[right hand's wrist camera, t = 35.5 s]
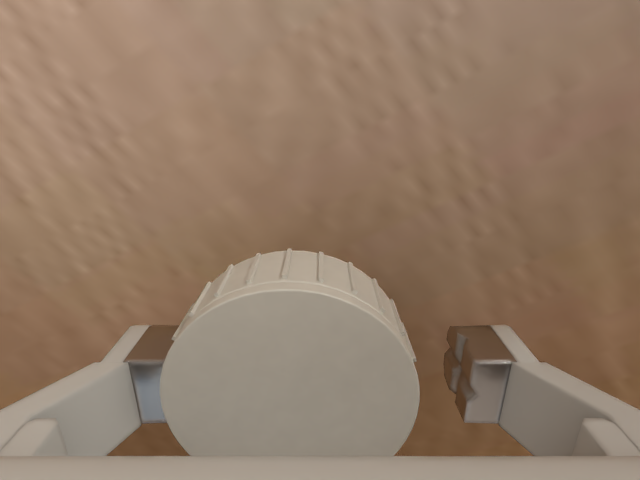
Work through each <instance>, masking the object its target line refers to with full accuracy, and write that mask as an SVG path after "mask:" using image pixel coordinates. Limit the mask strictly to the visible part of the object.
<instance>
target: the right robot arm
mask: <svg viewBox="0 0 640 480" xmlns="http://www.w3.org/2000/svg"><path fill="white" fill-rule="evenodd" d="M178 327H179V326H174V325H133V326H130V327H129V328H128V330H127V331H126V332H125V333H124V334H123V336H122V337H121V338H120V339H119V340H118V342H117V343H116V344H115V345H114V346H113V348H112V349H111V350H110V351H109V352H108V354H107V355H106V356H105V357H104V358H103V360H102V361H101V362H94V363H92V364H90V365H88V366H86V367H84V368H82V369H80V370H78V371H76V372H74V373H72V374H70V375H68V376H66V377H64V378H62V379H60V380H58V381H56V382H54V383H52V384H50V385H48V386H46V387H44V388H42V389H40V390H39V391H37V392H35V393H33V394H31V395H29V396H27V397H25V398H23V399H21V400H19V401H17V402H15V403H13V404H11V405H9V406H7V407H5V408H3V409H1V410H0V480H640V410H639V409H637V408H635V407H633V406H631V405H629V404H627V403H625V402H623V401H621V400H619V399H617V398H615V397H613V396H611V395H609V394H607V393H605V392H603V391H601V390H599V389H597V388H595V387H593V386H592V385H590V384H588V383H586V382H584V381H582V380H580V379H578V378H576V377H574V376H572V375H570V374H568V373H566V372H564V371H562V370H560V369H558V368H556V367H554V366H552V365H550V364H548V363H546V362H539V361H538V360H537V358H536V357H535V356H534V355H533V354H532V352H531V351H530V350H529V349H528V348H527V346H526V345H525V344H524V343H523V342H522V340H521V339H520V338H519V337H518V336H517V334H516V333H515V332H514V331H513V330H512V328H511V327H510V326H508V325H487V326H450V327H449V330H448V334H447V341H448V343H449V345H450V348H449V350H448V351H447V352H446V353H445V355H444V375H445V379H446V383H447V385H448V387H449V389H450V390H451V391H452V392H454V393H455V394H456V399H455V403H456V406H457V408H458V410H459V412H460V414H461V417H462V419H463V421H464V423H499V426H500V427H501V428H503V429H504V430H505V431H506V432H507V433H508V434H510V435H511V436H512V437H513V438H514V439H515V440H516V441H518V442H519V443H520V444H521V445H522V446H523V447H525V448H526V449H527V450H528V451H529V452H530V453H531V454H533V455H534V456H106V455H108V454H109V453H110V452H111V451H112V450H113V449H115V448H116V447H117V446H118V445H119V444H120V443H121V442H123V441H124V440H125V439H126V438H127V437H128V436H130V435H131V434H132V433H133V432H134V431H135V430H136V429H138V428H139V427H140V426H141V423H167V422H166V419H165V416H164V413H163V409H162V406H161V398H160V377H161V373H162V368H163V364H164V361H165V359H166V356H167V354H168V351H169V350H170V348H171V346H172V344H173V343H174V340H172V337H173V335H174V334H175V332H176V330H177V329H178Z"/></svg>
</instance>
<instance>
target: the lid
mask: <svg viewBox="0 0 640 480" xmlns="http://www.w3.org/2000/svg"><path fill="white" fill-rule="evenodd" d="M172 340H174V343H173V344H172V346H171V348H170V350H169V351H168V354H167V356H166V359H165V361H164V364H163V368H162V373H161V377H160V398H161V406H162V409H163V413H164V416H165V419H166V422H167V424H168V426H169V428H170V430H171V432H172V433H173V435H174V436H175V438H176V439H177V441H178V442H179V444H180V445H181V446H182V447H183V448H184V449H185V451H186V452H187V453H188V454H189V455H190V456H394V455H395V454H396V453H397V452H398V450H399V449H400V448H401V446H402V445H403V444H404V442H405V441H406V440H407V438H408V436H409V434H410V432H411V430H412V428H413V426H414V423H415V420H416V417H417V413H418V407H419V402H420V386H419V380H418V374H417V371H416V368H415V365H414V362H416V357H415V354H414V352H413V349H412V346H411V343H410V340H409V338H408V335H407V332H406V329H405V327H404V324H403V322H401V320H400V317H399V314H398V311H397V308H396V306H395V303H394V301H393V299H389V298H388V297H387V295H386V294H385V293H384V291H383V290H382V289H381V288H380V287H379V286H378V283H377V280H376V279H375V278H373V279H371V278H370V277H369V276H367V275H366V274H365V273H364V272H362V271H361V270H359V269H357V268H356V267H354V266H353V263H351V262H348V263H347V262H344V261H342V260H340V259H337V258H335V257H331V256H328V255H324V254H323V252H320V251H319V253H315V252H309V251H294V250H292V249H287V251H276V252H271V253H266V254H261V253H257V254H256V256H255V257H252V258H249V259H246V260H244V261H242V262H240V263H238V264H236V265H234V266H233V265H232V264H231V265H229V266H228V268H227V270H226V271H225V272H223V273H222V274H221V275H219V276H218V277H217V278H216V279H215V280H214V281H213V282H212V283H211V282H210V281H209V282H208V283H207V284H206V286H205V287H204V289H203V291H202V292H201V294H200V296H199V297H198V299H197V301H196V302H195V303H193V304H192V306H191V307H190V309H189V311H188V312H187V314H186V316H185V317H184V319H183V321H182V322H181V324H180V325H179V327H178V329H177V330H176V332H175V334H174V335H173V337H172Z"/></svg>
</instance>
